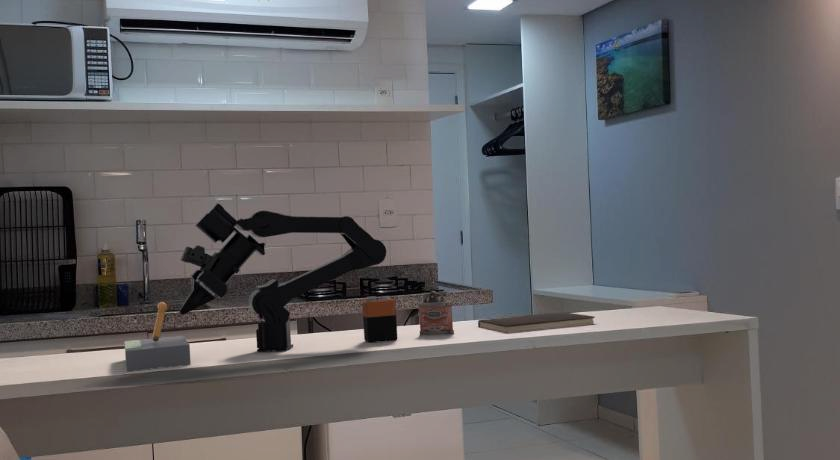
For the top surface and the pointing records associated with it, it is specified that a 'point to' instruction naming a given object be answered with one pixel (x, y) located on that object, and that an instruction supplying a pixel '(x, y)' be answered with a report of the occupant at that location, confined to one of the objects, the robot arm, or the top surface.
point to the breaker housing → (156, 353)
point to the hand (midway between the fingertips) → (180, 313)
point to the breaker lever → (159, 321)
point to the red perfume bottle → (435, 314)
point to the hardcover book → (535, 322)
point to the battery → (379, 319)
